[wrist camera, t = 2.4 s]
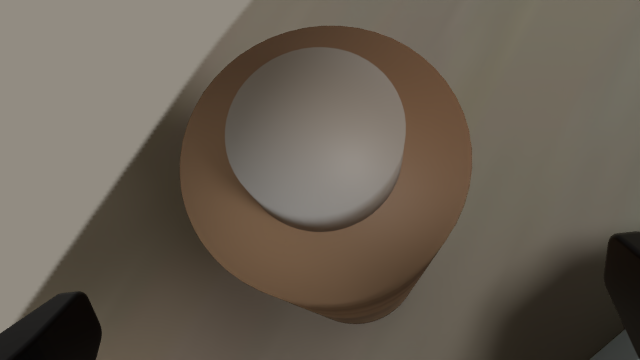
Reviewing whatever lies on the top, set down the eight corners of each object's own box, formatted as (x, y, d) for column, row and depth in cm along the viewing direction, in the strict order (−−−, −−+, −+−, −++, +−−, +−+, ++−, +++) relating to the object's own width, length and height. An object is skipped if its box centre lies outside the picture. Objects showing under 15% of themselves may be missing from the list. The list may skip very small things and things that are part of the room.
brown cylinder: (390, 344, 17) (415, 359, 6) (272, 293, 18) (94, 219, 7) (435, 224, 18) (529, 36, 7) (321, 181, 19) (237, -47, 8)
